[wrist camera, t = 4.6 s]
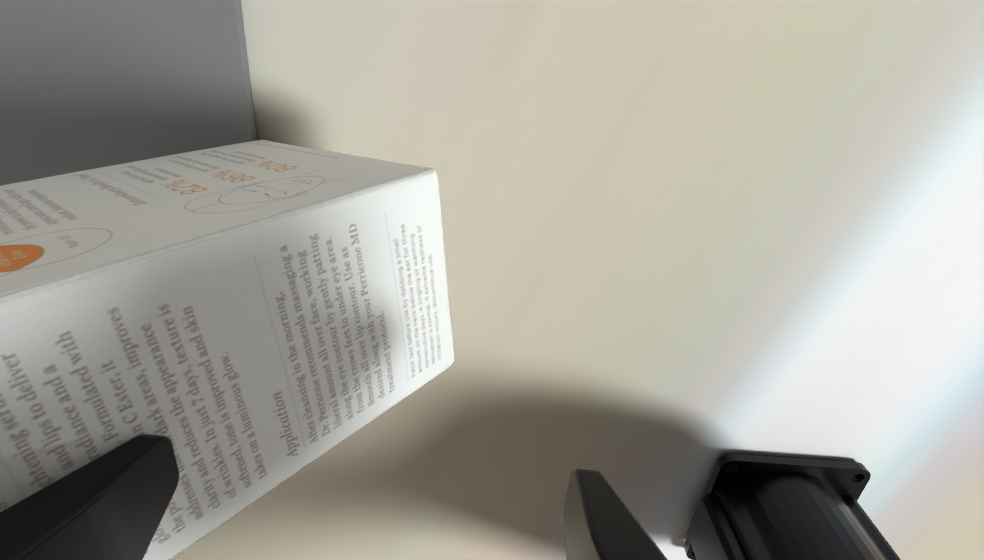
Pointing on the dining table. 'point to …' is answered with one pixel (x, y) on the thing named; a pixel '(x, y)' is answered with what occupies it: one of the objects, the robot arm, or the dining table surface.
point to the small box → (214, 316)
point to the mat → (118, 82)
